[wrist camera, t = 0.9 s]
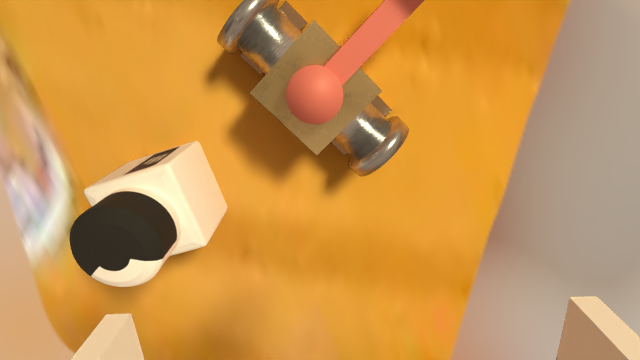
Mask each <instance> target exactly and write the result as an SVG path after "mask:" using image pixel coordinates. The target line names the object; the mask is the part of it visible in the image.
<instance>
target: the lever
mask: <svg viewBox="0 0 640 360" xmlns="http://www.w3.org/2000/svg"><path fill="white" fill-rule="evenodd" d="M423 1H424V0H384V1H383V2H382V3H381V4H380V5H379V7H378V8H377V9H376V10H375V11H374V12H373V13H372V14H371V15H370V16H369V17H368V18H367V19H366V21H365V22H364V23H363V24H362V25H361V26H360V27H359V28H358V29H357V30H356V31H355V32H354V33H353V35H352V36H351V37H350V38H349V39H348V40H347V41H346V42H345V43H344V44H343V45H342V46H341V47H340V49H339V50H338V51H337V52H336V53H335V54H334V55H333V56H332V57H331V58H330V59H329V60H328V62H327V63H326V64H325V65H324V66H323V65H319V64H312V65H307V66H305V67H303V68H301V69H300V70H298V71H297V72H296V73H295V74H294V75H293V76H292V78H291V79H290V81H289V83H288V85H287V89H286V101H287V105H288V107H289V109H290V111H291V112H292V114H293V115H294V116H295V117H296V118H298V119H299V120H301V121H302V122H305V123H308V124H322V123H325V122H327V121H329V120H331V119H332V118H333V117H334V116H335V115H336V114H337V113H338V112H339V110H340V108H341V106H342V103H343V88H342V85H343V84H344V83H345V82H346V81H347V80H348V79H349V78H350V77H351V76H352V75H353V74H354V73H355V72H356V71H357V70H358V69H359V67H360V66H361V65H362V64H363V63H364V62H365V61H366V60H367V59H368V58H369V57H370V56H371V55H372V54H373V53H374V52H375V51H376V50H377V49H378V48H379V47H380V46H381V45H382V44H383V43H384V42H385V40H386V39H387V38H388V37H389V36H390V35H391V34H392V33H393V32H394V31H395V30H396V29H397V28H398V27H399V26H400V25H401V24H402V23H403V22H404V21H405V20H406V19H407V18H408V17H409V16H410V15H411V14H412V12H413V11H414V10H415V9H416V8H417V7H418V6H419V5H420V4H421V3H422V2H423Z"/></svg>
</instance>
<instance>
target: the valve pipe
mask: <svg viewBox="0 0 640 360" xmlns="http://www.w3.org/2000/svg"><path fill="white" fill-rule="evenodd" d="M278 2H279V0H244V1H243V2H242V3H241V4H240V5H239V6H238V7H237V9H236V10H235V11H234V12H233V14H232V15H231V16H230V18H229V19H228V20H227V22H226V23H225V25H224V26H223V28H222V30H221V32H220V34H219V36H218V39H217V42H218V43H219V44H220V45H221V46H222V47H223V48H224V49H225V50H226V51H227V52H228V53H229V54H233V53H235V52H236V51H237V50H239V49H240V50H241V51H242V54H241V55H240V56H241V57H242V58H243V59H244V60H245V61H246V62H247V63H248V64H249V65H250V66H251V67H252V68H253V69H254V70H255V71H256V72H257V73H258V74H259V75H262V74H263V73H265V74H266V75H265V76H264V77H263V78H262V80H261V81H260V82H259V83H258V84H257V85H256V86H255V88H254V89H253V90H252V91H251V92H250V94H251V95H252V96H253V97H254V98H255V99H257V100H258V101H259V102H260V103H261V104H262V105H263V106H264V107H265V108H266V109H267V110H268V111H269V112H271V113H272V114H273V115H274V116H275V117H276V118H277V119H278V120H279V121H280V122H281V123H282V124H283V125H285V126H286V127H287V128H288V129H289V130H290V131H291V132H292V133H293V134H294V135H295V136H296V137H297V138H299V139H300V140H301V141H302V142H303V143H304V144H305V145H306V146H307V147H308V148H309V149H310V150H311V151H313V152H314V153H315V154H316V155H318V154H319V153H320V152H321V151H322V150H323V149H324V148H325V147H326V146H327V145H328V144H329V143H330V142H331V143H332V144H333V145H334V146H335V147H336V148H337V149H338V150H339V151H340V152H342V153H343V154H344V155H346V154H347V153H349V154H350V155H351V157H350V159H349V162H348V166H349V167H350V168H351V169H352V170H353V171H354V172H355V173H356V174H358V175H359V176H361V177H362V176H366V175H369V174H371V173H372V172H374V171H376V170H377V169H378V168H380V167H381V166H382V165H384V164H385V163H386V162H387V161H388V160H389V159H390V158H391V157H392V156H393V155H394V154H395V153H396V152H397V150H398V149H399V148H400V147H401V145H402V144H403V142H404V141H405V139H406V137H407V135H408V131H409V129H408V127H407V126H406V125H405V124H404V123H403V122H402V121H401V119H400V118H399V117H396V116H395V117H392V118H389V119H386V118H385V116H387V115H388V114H389V113H390V112H391V111H392V110H391V109H390V108H389V107H388V106H387V105H386V104H385V103H384V102H383V101H382V100H381V98H380V97H379V96H378V94H379V93H380V92H381V91H382V90H381V89H380V88H379V87H378V86H377V85H376V84H375V83H374V82H373V81H372V80H371V79H370V78H369V77H368V76H367V75H366V74H365V73H364V72H363V71H362V70H361V69H360V67H359V69H358V70H357V71H356V72H355V73H354V74H353V75H352V76H351V77H350V78H349V79H348V80H347V81H346V82H345V83H344V84H343V85H342V88H343V103H342V106H341V108H340V110H339V112H338V113H337V114H336V115H335V116H334V117H333V118H332V119H331V120H329V121H327V122H325V123H322V124H308V123H305V122H302V121H301V120H299V119H298V118H296V117H295V116H294V115H293V114H292V112H291V111H290V109H289V107H288V105H287V101H286V89H287V85H288V83H289V81H290V79H291V78H292V76H293V75H294V74H295V73H296V72H297V71H298V70H300V69H301V68H303V67H305V66H307V65H312V64H319V65H323V66H324V65H325V64H326V63H327V62H328V60H329V59H330V58H331V57H332V56H333V55H334V54H335V53H336V52H337V51H338V50H339V49H340V47H339V46H338V45H337V44H336V42H335V41H334V40H333V39H332V38H331V37H330V36H329V35H328V34H327V33H326V32H325V31H324V30H323V29H322V28H321V27H320V26H319V25H318V24H317V23H316V22H315V21H313V22H312V23H311V24H310V25H309V26H308V27H307V28H306V30H305V31H304V32H303V33H302V32H301V30H302V29H303V28H304V26H305V25H306V24H307V22H306V21H305V20H304V19H303V18H302V17H301V16H300V15H299V14H298V13H297V12H296V11H295V10H294V9H293V8H292V7H291V6H290V4H289V3H288V2H287V1H285V2H284V4H283V5H282V6H281V7H280V8H279V9H278V8H277V7H276V6H277V4H278Z"/></svg>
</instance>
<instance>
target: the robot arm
mask: <svg viewBox="0 0 640 360" xmlns="http://www.w3.org/2000/svg"><path fill="white" fill-rule="evenodd" d="M71 360H144V357H143V353H142V350H141V346H140V343H139V339H138V336H137V332H136V329H135V326H134V322H133V319H132V315H131V314H106V316H105V317H104V318H103V319H102V321H101V322H100V323H99V324H98V326H97V327H96V328H95V329H94V331H93V332H92V333H91V334H90V336H89V337H88V338H87V340H86V341H85V342H84V343H83V345H82V346H81V347H80V348H79V350H78V351H77V352H76V353H75V355H74V356H73V357H72V359H71ZM556 360H640V337H639V336H637V334H636V333H634V332H633V331H632V330H631V329H630V328H629V327H628V326H627V325H626V324H625V323H624V322H623V321H622V320H621V319H620V318H619V317H618V316H617V315H615V314H614V313H613V312H612V311H611V310H610V309H609V308H608V307H607V306H606V305H605V304H604V303H603V302H602V301H601V300H600V299H599V298H597V296H589V297H570V298H569V303H568V308H567V312H566V316H565V321H564V326H563V330H562V335H561V339H560V344H559V349H558V353H557V358H556Z"/></svg>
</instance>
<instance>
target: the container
mask: <svg viewBox="0 0 640 360" xmlns="http://www.w3.org/2000/svg"><path fill="white" fill-rule="evenodd" d="M84 194H85V196H86V198H87V199H88V201H89V203H90V205H91V206H92V207H91V208H90V209H88V210H87V211H85V212H84V213H83V214H81V215H80V216H79V217H78V218H77V219H76V220H75V222H74V224H73V226H72V228H71V232H70V246H71V250H72V254H73V256H74V258H75V260H76V262H77V263H78V265H79V266H80V267H81V268H82V269H83V270H84V271H85V272H86V273H87V274H88V275H90V276H91V277H93V278H94V279H96V280H98V281H100V282H102V283H105V284H108V285H112V286H118V287H131V286H137V285H140V284H143V283H145V282H147V281H149V280H150V279H151V278H153V277H154V276H155V274H156V273H157V272H158V271H159V269H160V268H161V267H162V265H163V264H164V262H165V261H166V260H167V258H168V257H169V256H172V255H176V254H179V253H183V252H187V251H190V250H194V249H198V248H201V247H204V246H206V245H207V243H208V241H209V240H210V238H211V236H212V235H213V233H214V231H215V230H216V228H217V226H218V224H219V223H220V221H221V219H222V218H223V216H224V214H225V213H226V211H227V209H228V207H227V204H226V202H225V200H224V197H223V195H222V193H221V190H220V188H219V186H218V184H217V181H216V179H215V177H214V174H213V172H212V170H211V167H210V165H209V163H208V161H207V158H206V156H205V154H204V151H203V149H202V147H201V145H200V143H199V142H198V141H193V142H190V143H187V144H184V145H180V146H177V147H174V148H171V149H168V150H164V151H161V152H158V153H155V154H152V155H149V156H145V157H142V158H139V159H136V160H133V161H130V162H128V163H126V164H125V165H123V166H121V167H120V168H118V169H117V170H115V171H113V172H112V173H110V174H108V175H107V176H105V177H104V178H102V179H100V180H99V181H97V182H95V183H94V184H92V185H91V186H89V187H87V188H86V189H85V190H84Z"/></svg>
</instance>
